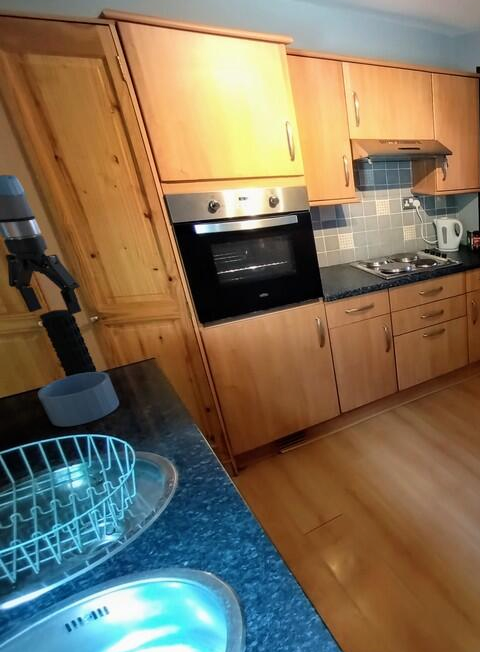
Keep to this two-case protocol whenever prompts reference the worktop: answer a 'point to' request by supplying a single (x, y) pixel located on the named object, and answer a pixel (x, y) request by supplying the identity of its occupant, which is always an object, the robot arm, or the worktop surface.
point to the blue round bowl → (78, 398)
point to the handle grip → (68, 342)
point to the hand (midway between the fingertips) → (55, 311)
